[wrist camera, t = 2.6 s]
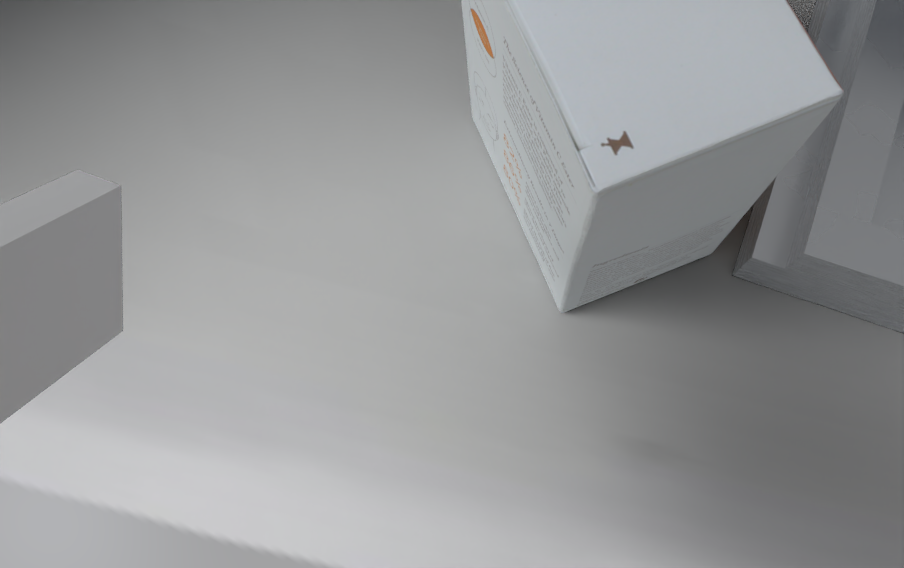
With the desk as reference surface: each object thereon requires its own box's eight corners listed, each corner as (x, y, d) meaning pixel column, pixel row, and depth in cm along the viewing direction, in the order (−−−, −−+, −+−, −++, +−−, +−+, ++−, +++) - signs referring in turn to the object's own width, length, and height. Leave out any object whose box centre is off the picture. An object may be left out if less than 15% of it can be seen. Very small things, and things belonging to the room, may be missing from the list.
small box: (713, 257, 25) (859, 100, 15) (556, 319, 25) (596, 201, 15) (612, 59, 27) (680, -197, 17) (467, 114, 27) (448, -111, 17)
